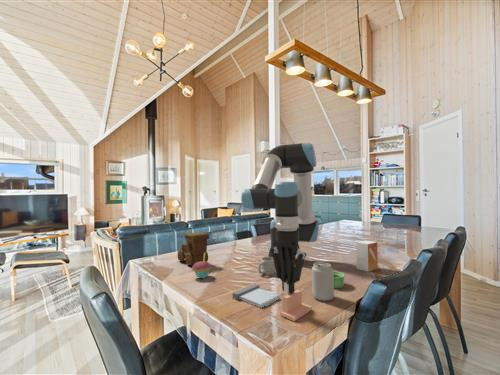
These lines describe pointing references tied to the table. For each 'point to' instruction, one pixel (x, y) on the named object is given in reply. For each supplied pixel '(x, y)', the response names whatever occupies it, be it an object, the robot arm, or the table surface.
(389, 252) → the table surface
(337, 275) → the ramekin
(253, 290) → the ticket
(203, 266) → the cupcake
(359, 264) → the small box
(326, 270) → the can
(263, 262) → the mug
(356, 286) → the table surface
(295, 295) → the stub
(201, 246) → the wooden toy train
